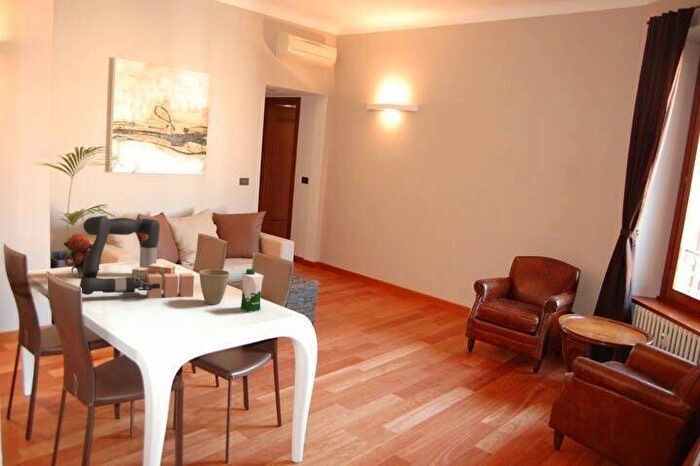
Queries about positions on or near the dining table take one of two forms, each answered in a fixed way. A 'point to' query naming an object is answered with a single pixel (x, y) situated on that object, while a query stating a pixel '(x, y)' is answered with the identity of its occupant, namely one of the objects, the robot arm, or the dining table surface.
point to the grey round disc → (131, 294)
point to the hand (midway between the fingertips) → (158, 283)
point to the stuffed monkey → (77, 251)
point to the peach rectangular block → (186, 284)
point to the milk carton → (251, 290)
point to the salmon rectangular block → (170, 285)
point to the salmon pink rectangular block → (154, 280)
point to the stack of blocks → (153, 271)
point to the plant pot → (213, 284)
